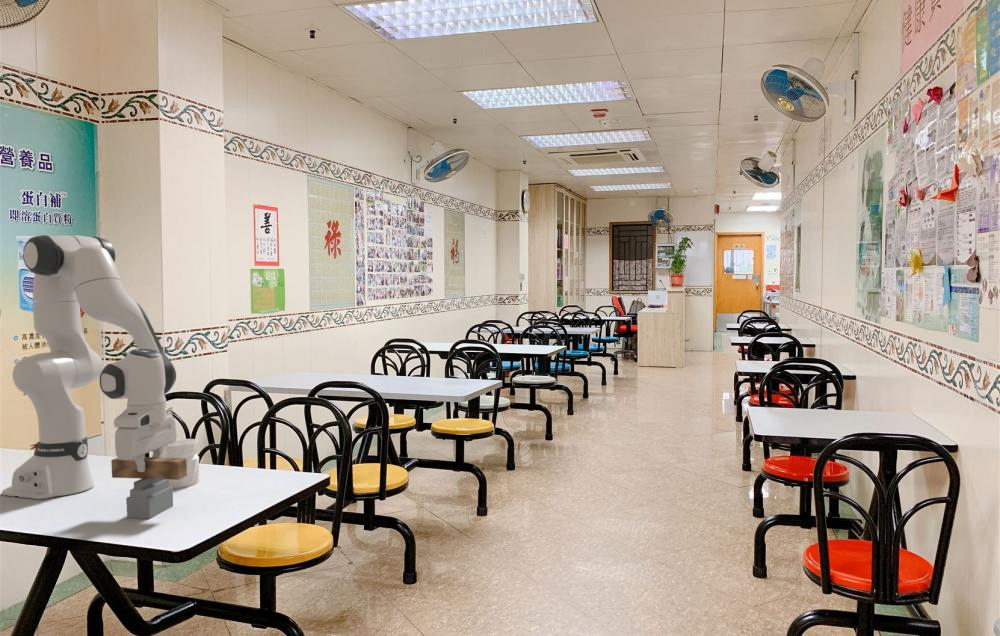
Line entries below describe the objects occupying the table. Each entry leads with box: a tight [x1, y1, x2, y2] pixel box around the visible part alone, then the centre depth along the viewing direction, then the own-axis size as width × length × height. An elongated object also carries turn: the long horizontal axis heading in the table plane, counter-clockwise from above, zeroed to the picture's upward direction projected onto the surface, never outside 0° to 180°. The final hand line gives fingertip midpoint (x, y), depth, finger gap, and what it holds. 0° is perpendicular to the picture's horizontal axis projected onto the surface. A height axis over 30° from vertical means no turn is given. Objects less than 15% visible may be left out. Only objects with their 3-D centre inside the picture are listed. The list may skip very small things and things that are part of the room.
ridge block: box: [125, 478, 174, 520], centre depth 180 cm, size 6×10×9 cm, turn 173°
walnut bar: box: [110, 456, 187, 480], centre depth 180 cm, size 18×4×4 cm, turn 83°
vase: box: [164, 438, 201, 488], centre depth 206 cm, size 9×9×12 cm
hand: (149, 468), depth 180 cm, fingers open, 4 cm apart
